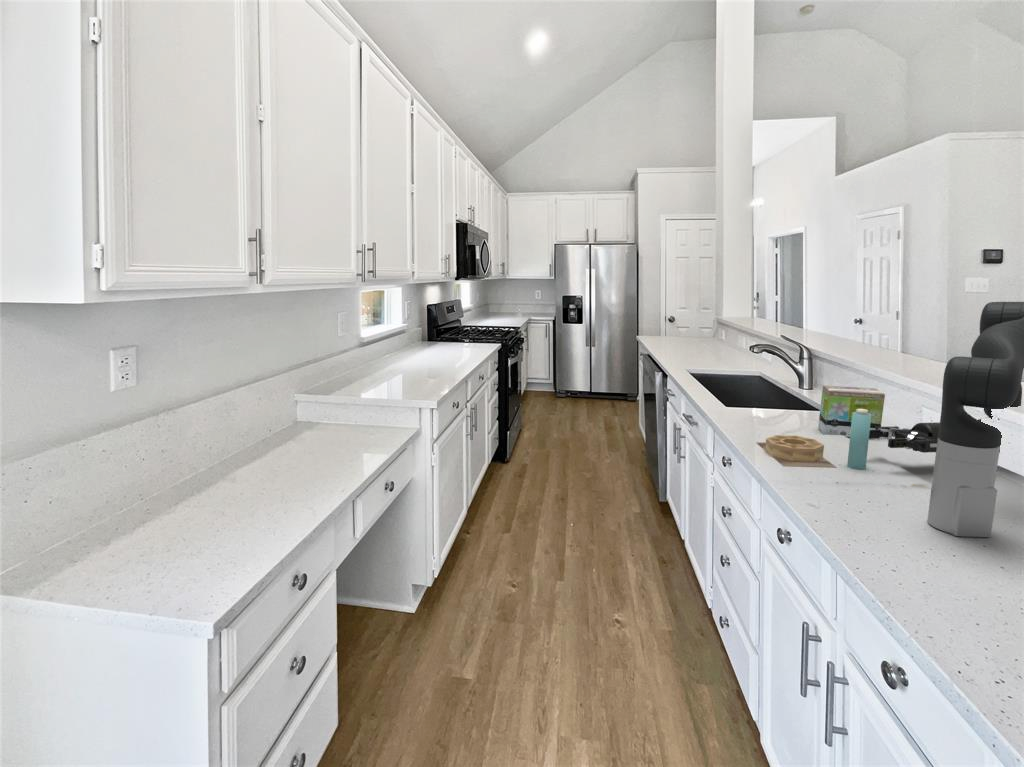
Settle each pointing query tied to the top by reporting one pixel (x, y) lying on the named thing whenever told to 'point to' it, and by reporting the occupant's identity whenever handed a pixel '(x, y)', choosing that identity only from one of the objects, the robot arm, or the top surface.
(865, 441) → the teal bottle
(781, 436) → the tan octagonal ring
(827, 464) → the board
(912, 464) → the top surface
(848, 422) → the tea box
